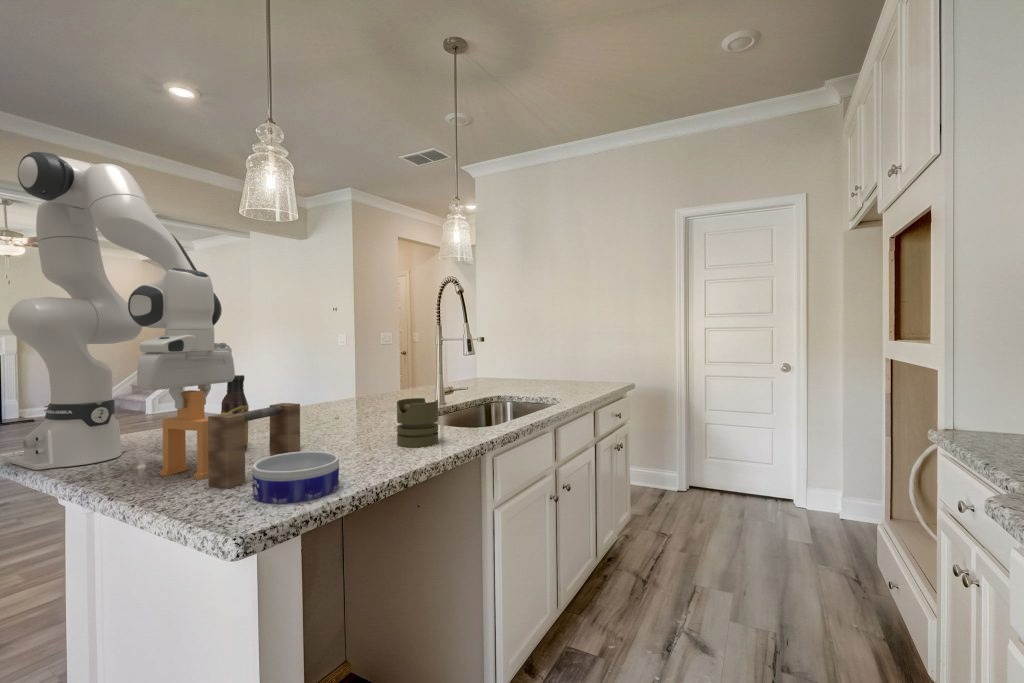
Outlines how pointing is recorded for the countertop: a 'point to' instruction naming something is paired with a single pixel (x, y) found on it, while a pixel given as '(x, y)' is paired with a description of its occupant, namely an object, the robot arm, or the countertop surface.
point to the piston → (417, 423)
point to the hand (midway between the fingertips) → (190, 406)
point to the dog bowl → (295, 477)
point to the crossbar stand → (230, 441)
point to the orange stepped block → (176, 436)
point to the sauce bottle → (236, 401)
